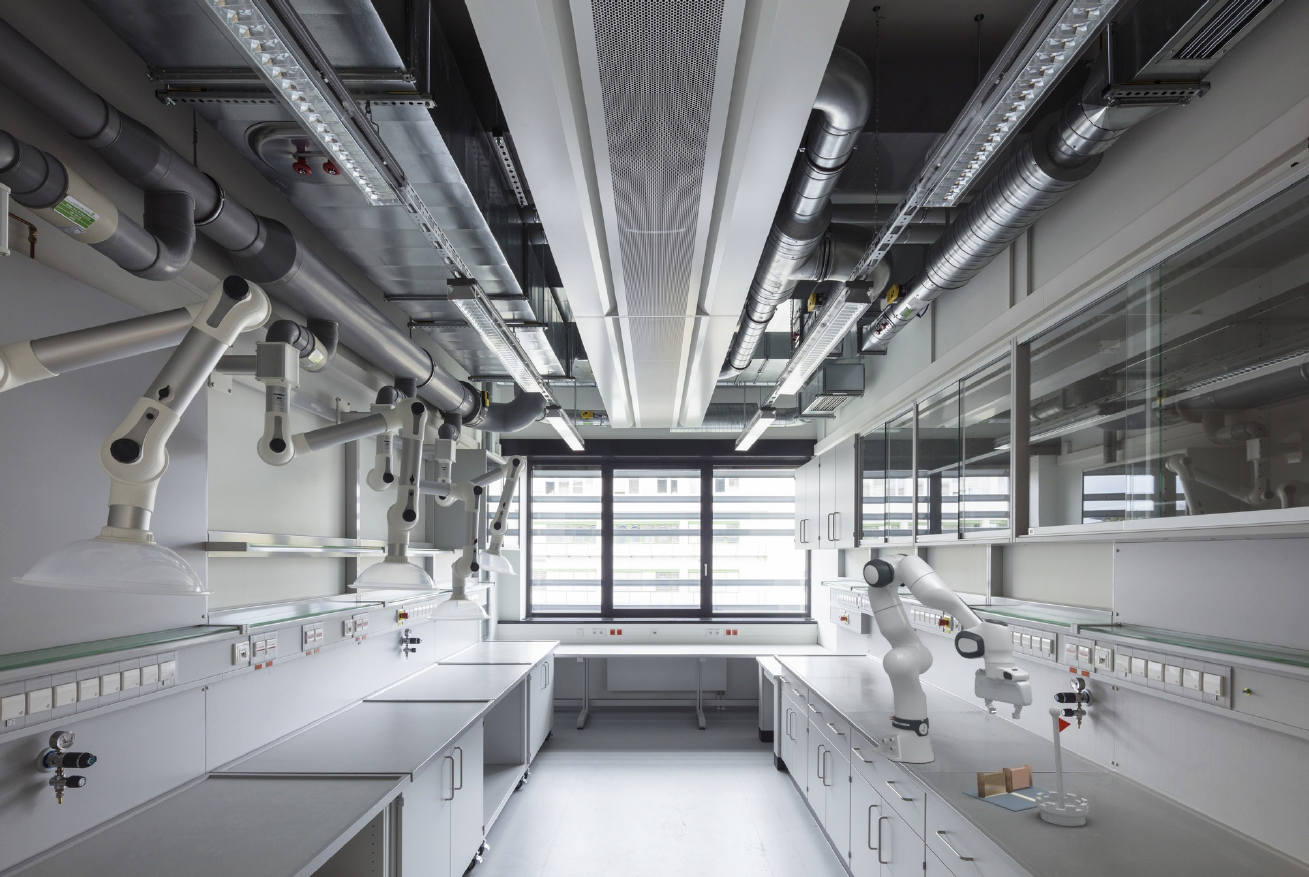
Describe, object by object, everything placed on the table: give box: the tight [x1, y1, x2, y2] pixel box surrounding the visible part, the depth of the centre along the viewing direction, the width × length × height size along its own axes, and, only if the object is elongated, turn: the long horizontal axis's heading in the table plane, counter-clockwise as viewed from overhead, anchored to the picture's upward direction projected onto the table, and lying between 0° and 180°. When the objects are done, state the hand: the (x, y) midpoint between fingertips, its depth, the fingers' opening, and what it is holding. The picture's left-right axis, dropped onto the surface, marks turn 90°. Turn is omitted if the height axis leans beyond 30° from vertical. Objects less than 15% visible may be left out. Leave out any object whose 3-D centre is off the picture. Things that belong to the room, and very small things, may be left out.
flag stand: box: [1035, 705, 1090, 827], centre depth 218 cm, size 13×13×30 cm
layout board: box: [962, 786, 1049, 813], centre depth 236 cm, size 19×24×1 cm
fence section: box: [1009, 764, 1034, 790], centre depth 242 cm, size 2×9×6 cm, turn 116°
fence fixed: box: [976, 767, 1012, 798], centre depth 237 cm, size 2×13×7 cm, turn 116°
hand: (1004, 716), depth 250 cm, fingers open, 8 cm apart
